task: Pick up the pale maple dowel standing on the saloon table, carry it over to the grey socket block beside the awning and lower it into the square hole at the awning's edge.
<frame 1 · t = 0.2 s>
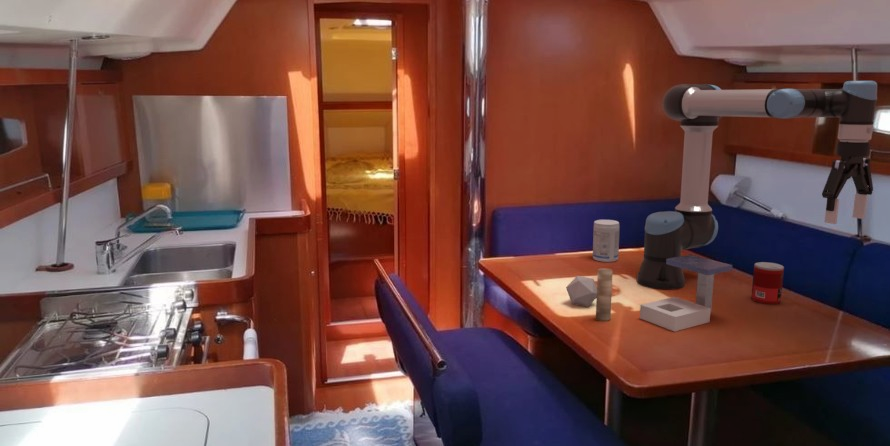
hand: (844, 220, 171), 28 cm above the table, fingers open, 13 cm apart
supplement tub: (605, 260, 243), on the table
socket block: (674, 320, 176), on the table
die: (582, 304, 191), on the table
canned food: (765, 300, 193), on the table
peg: (603, 318, 177), on the table
awning: (703, 312, 182), on the table
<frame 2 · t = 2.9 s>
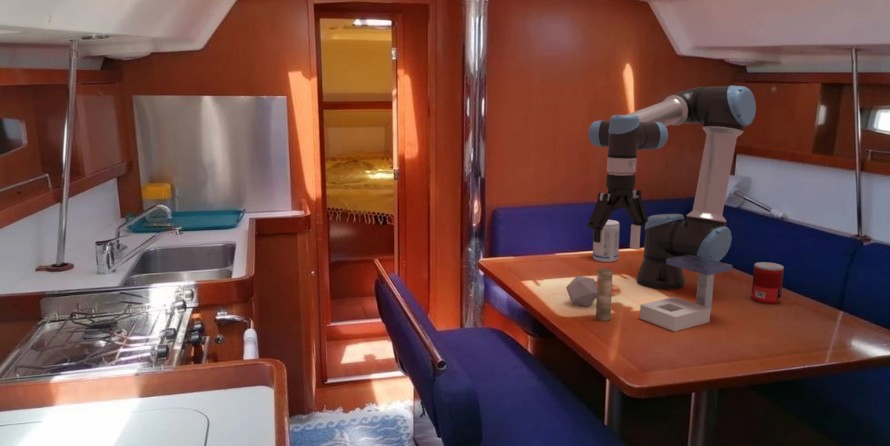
hand: (616, 251, 173), 19 cm above the table, fingers open, 13 cm apart
nothing on the table moved.
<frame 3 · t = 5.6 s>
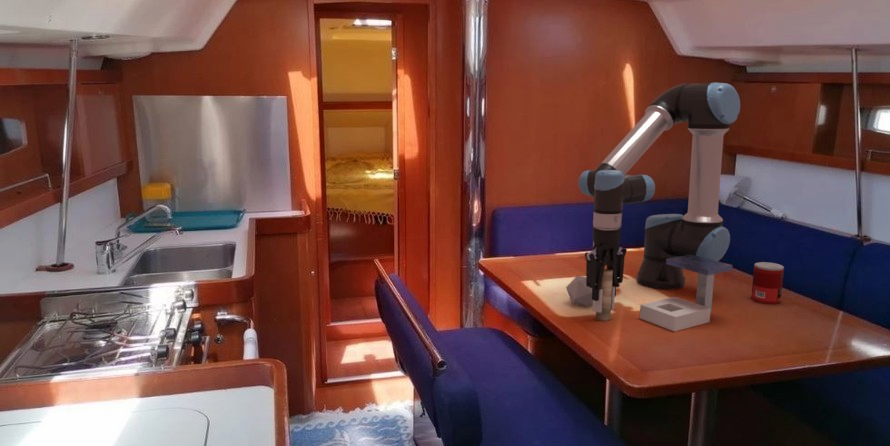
hand: (603, 309, 177), 3 cm above the table, fingers closed on peg, 4 cm apart
peg: (603, 318, 177), on the table, touching gripper
everything else where it was.
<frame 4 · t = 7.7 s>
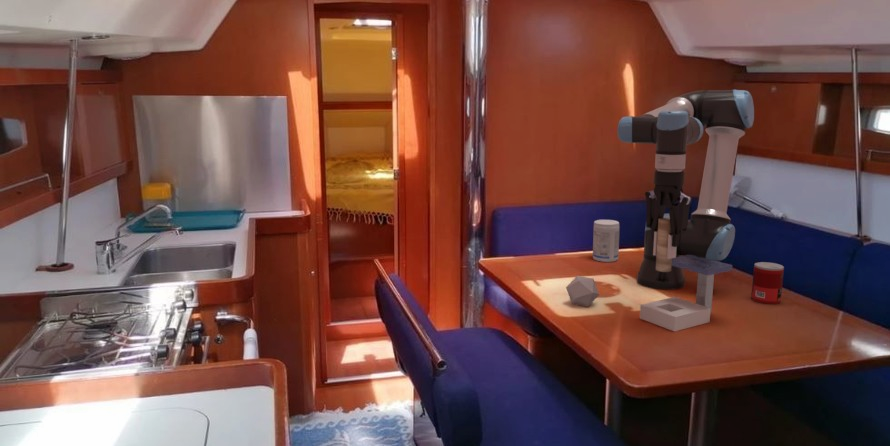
hand: (664, 256, 172), 18 cm above the table, fingers closed on peg, 4 cm apart
peg: (663, 269, 173), point 15 cm above the table, touching gripper
everything else where it was.
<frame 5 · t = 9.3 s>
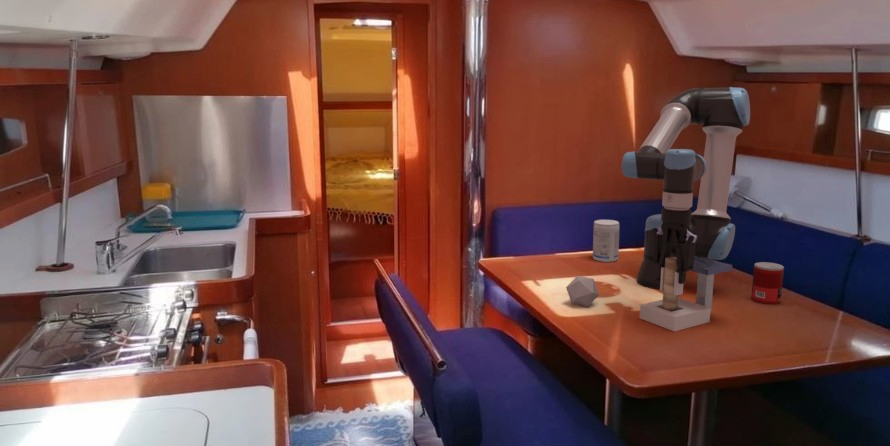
hand: (671, 292, 173), 8 cm above the table, fingers closed on peg, 4 cm apart
peg: (669, 308, 174), point 4 cm above the table, touching gripper
everything else where it was.
when the fingers open (5 cm above the table, at t = 10.1 s): peg stays where it is, resting on socket block.
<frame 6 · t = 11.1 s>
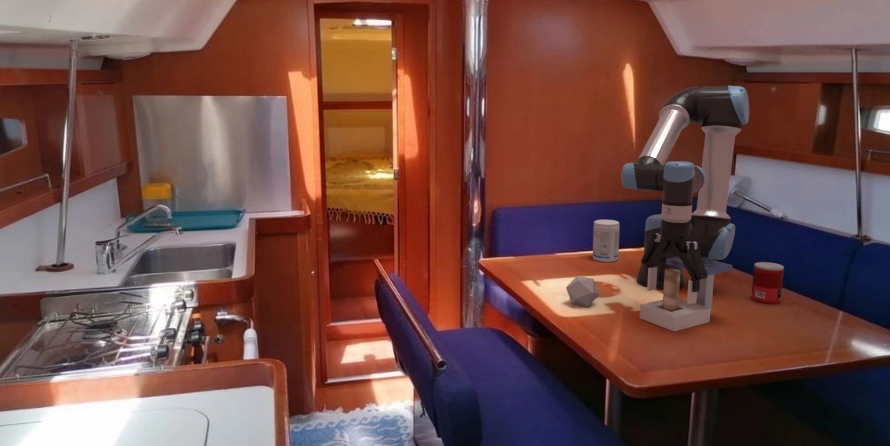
hand: (670, 296, 174), 7 cm above the table, fingers open, 13 cm apart
peg: (669, 319, 175), resting on socket block
everything else where it was.
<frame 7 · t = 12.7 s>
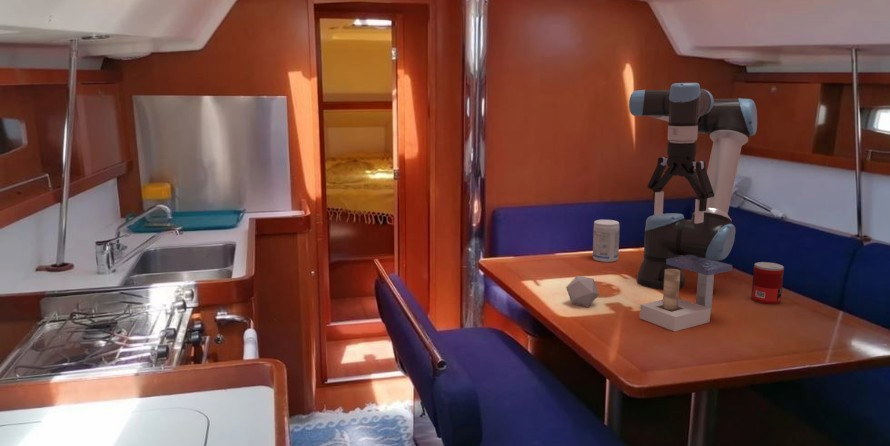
hand: (677, 218, 176), 28 cm above the table, fingers open, 13 cm apart
nothing on the table moved.
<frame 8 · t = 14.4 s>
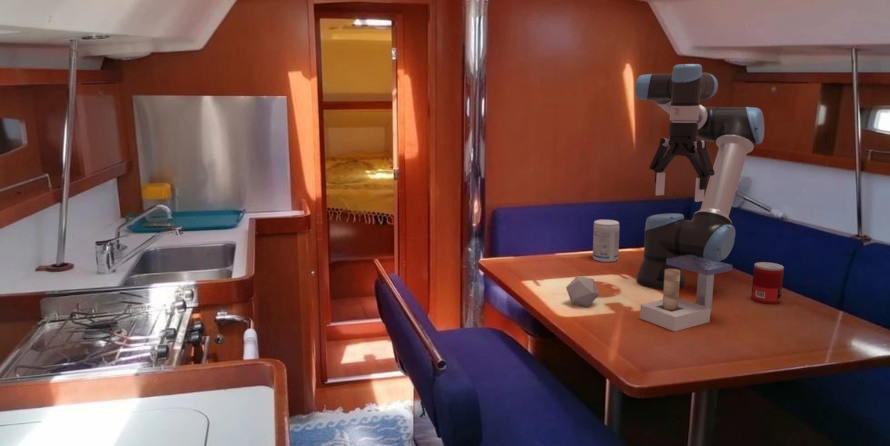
hand: (678, 198, 179), 33 cm above the table, fingers open, 13 cm apart
nothing on the table moved.
at the end: peg 0.0 cm from the target spot on the socket block, point 0.5 cm above the socket block's base; peg tilted 0°; the gripper is holding nothing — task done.
